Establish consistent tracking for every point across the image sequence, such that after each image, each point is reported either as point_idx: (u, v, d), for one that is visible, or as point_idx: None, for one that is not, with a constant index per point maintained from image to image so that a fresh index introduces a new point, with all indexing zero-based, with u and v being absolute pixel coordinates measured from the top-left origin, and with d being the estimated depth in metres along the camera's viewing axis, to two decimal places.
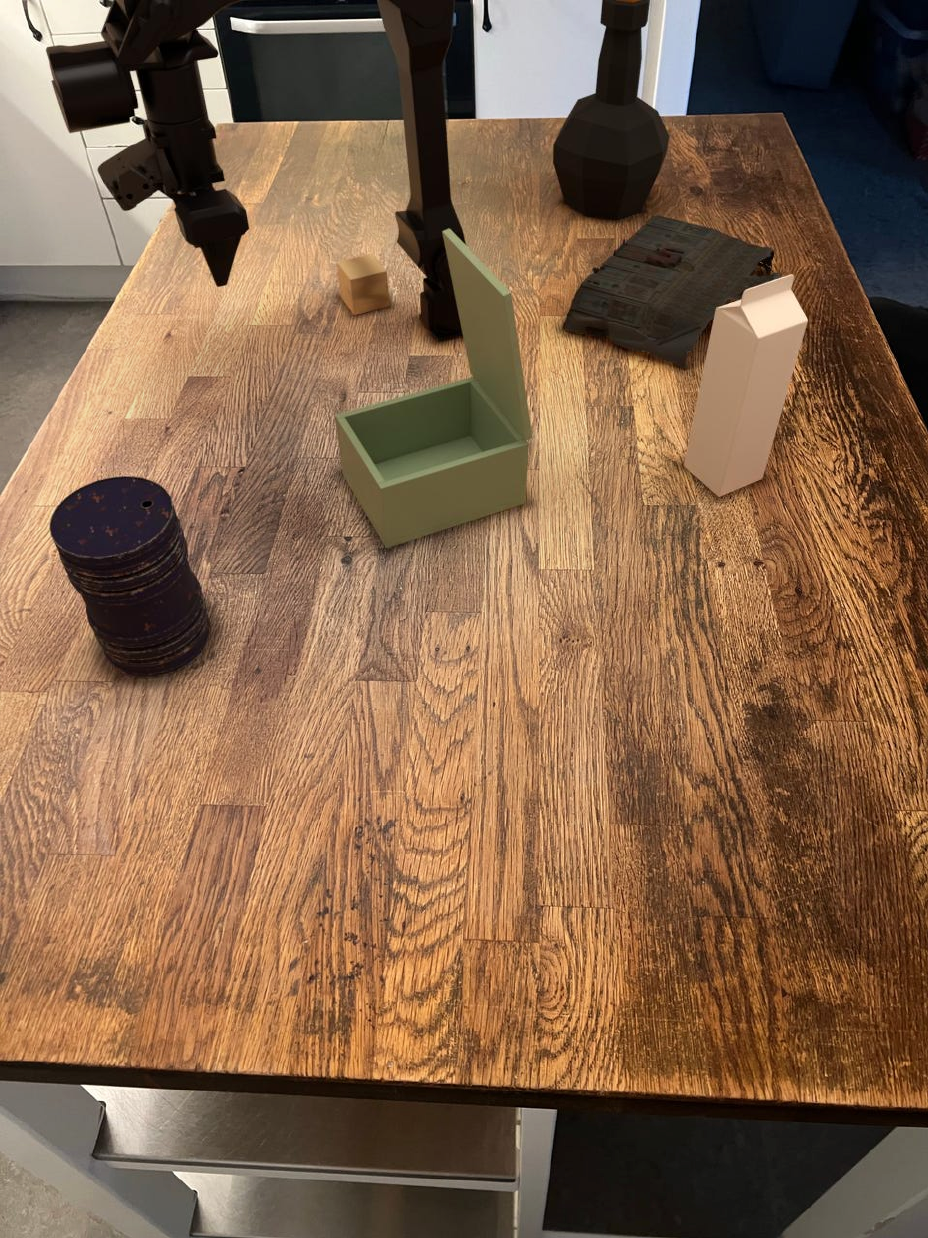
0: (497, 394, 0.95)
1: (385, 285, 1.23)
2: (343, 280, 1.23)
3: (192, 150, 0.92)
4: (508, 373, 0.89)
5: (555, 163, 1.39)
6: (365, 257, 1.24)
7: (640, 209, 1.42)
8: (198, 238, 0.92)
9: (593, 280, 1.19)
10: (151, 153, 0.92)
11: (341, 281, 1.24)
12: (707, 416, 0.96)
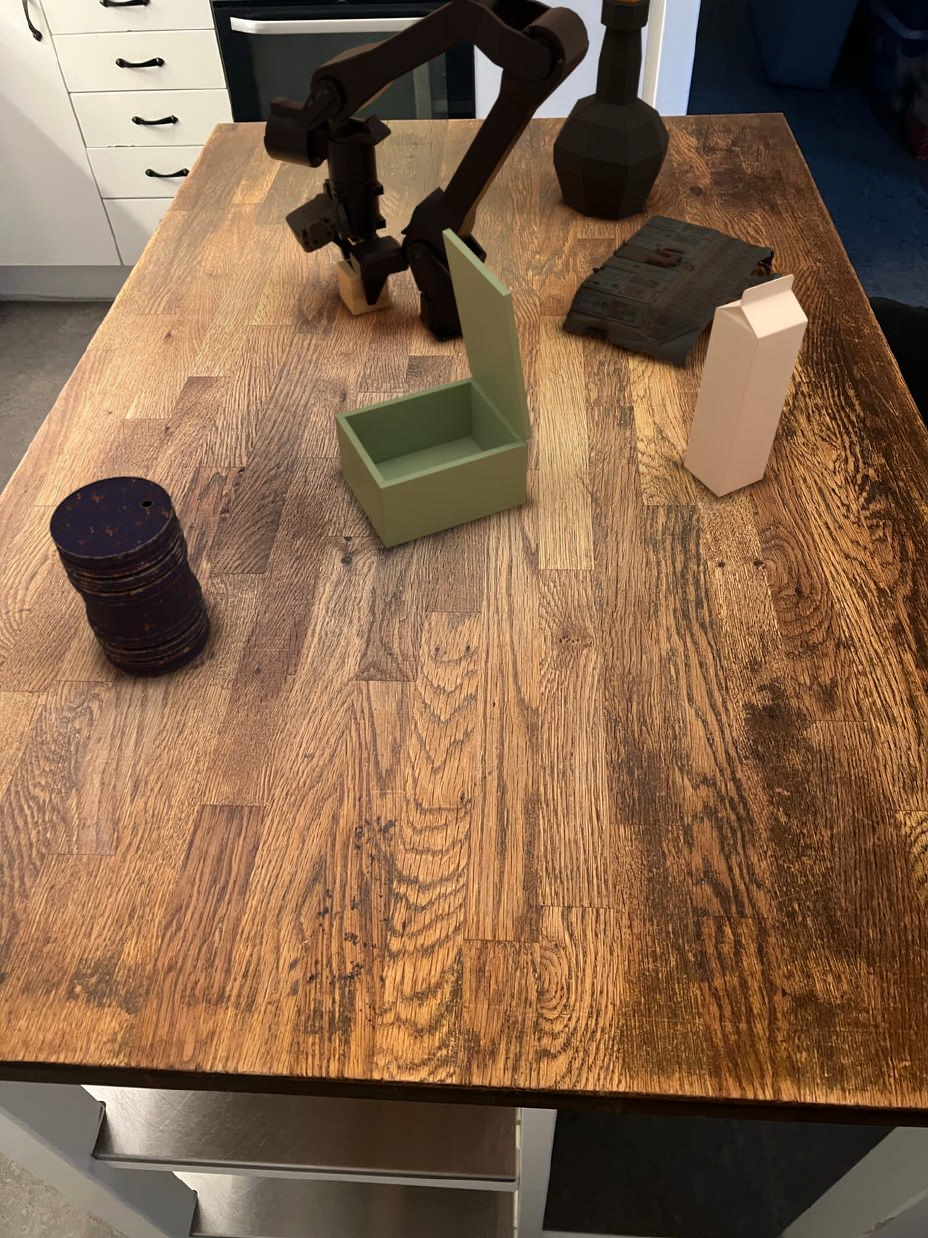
0: (497, 394, 0.95)
1: (385, 285, 1.23)
2: (343, 280, 1.23)
3: (365, 204, 1.14)
4: (508, 373, 0.89)
5: (555, 163, 1.39)
6: None
7: (640, 209, 1.42)
8: (370, 275, 1.13)
9: (593, 280, 1.19)
10: (332, 207, 1.14)
11: (341, 281, 1.24)
12: (707, 416, 0.96)
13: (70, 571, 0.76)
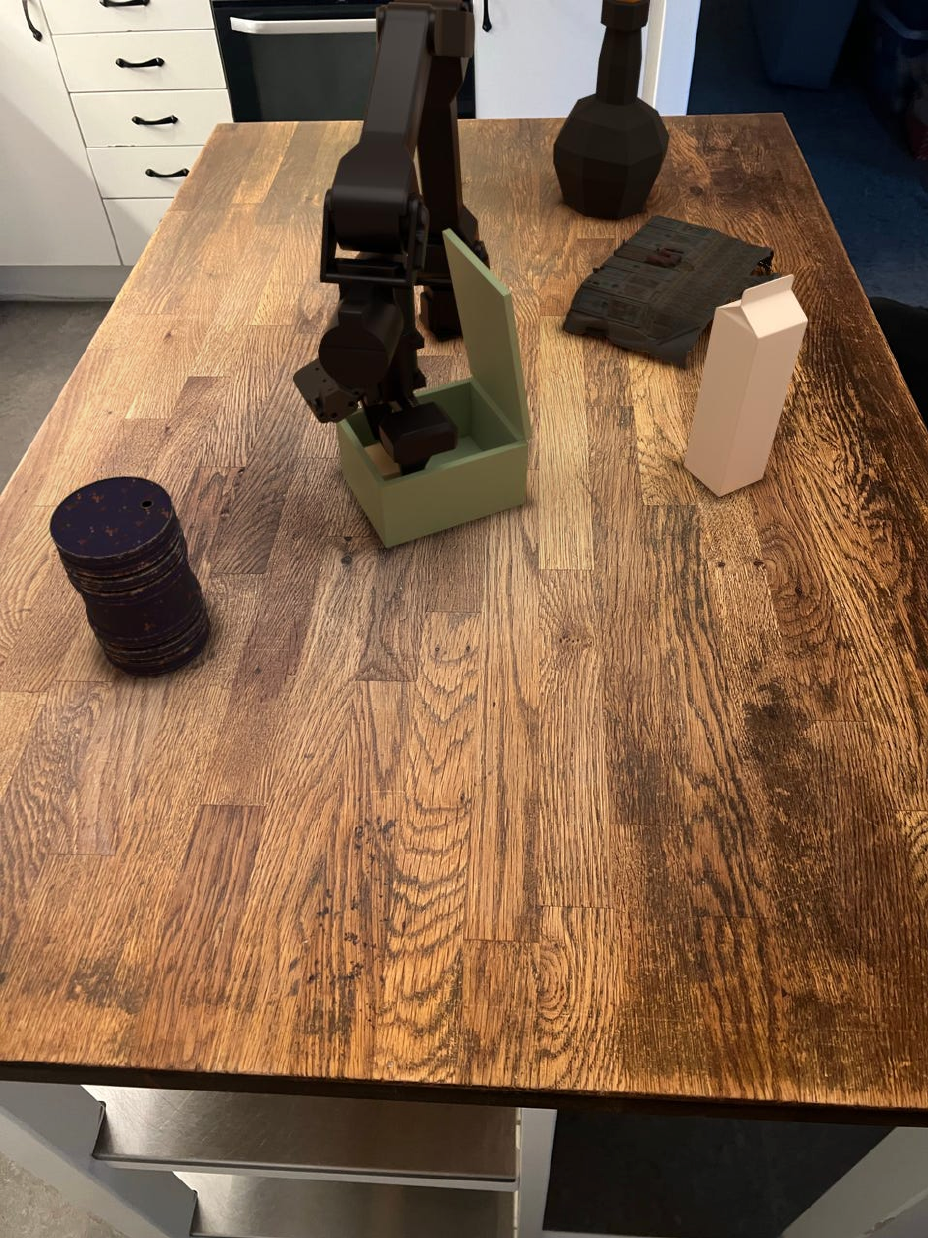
0: (497, 394, 0.95)
1: None
2: None
3: (399, 362, 0.85)
4: (508, 373, 0.89)
5: (555, 163, 1.39)
6: None
7: (640, 209, 1.42)
8: (407, 459, 0.84)
9: (593, 280, 1.19)
10: None
11: None
12: (707, 416, 0.96)
13: (70, 571, 0.76)
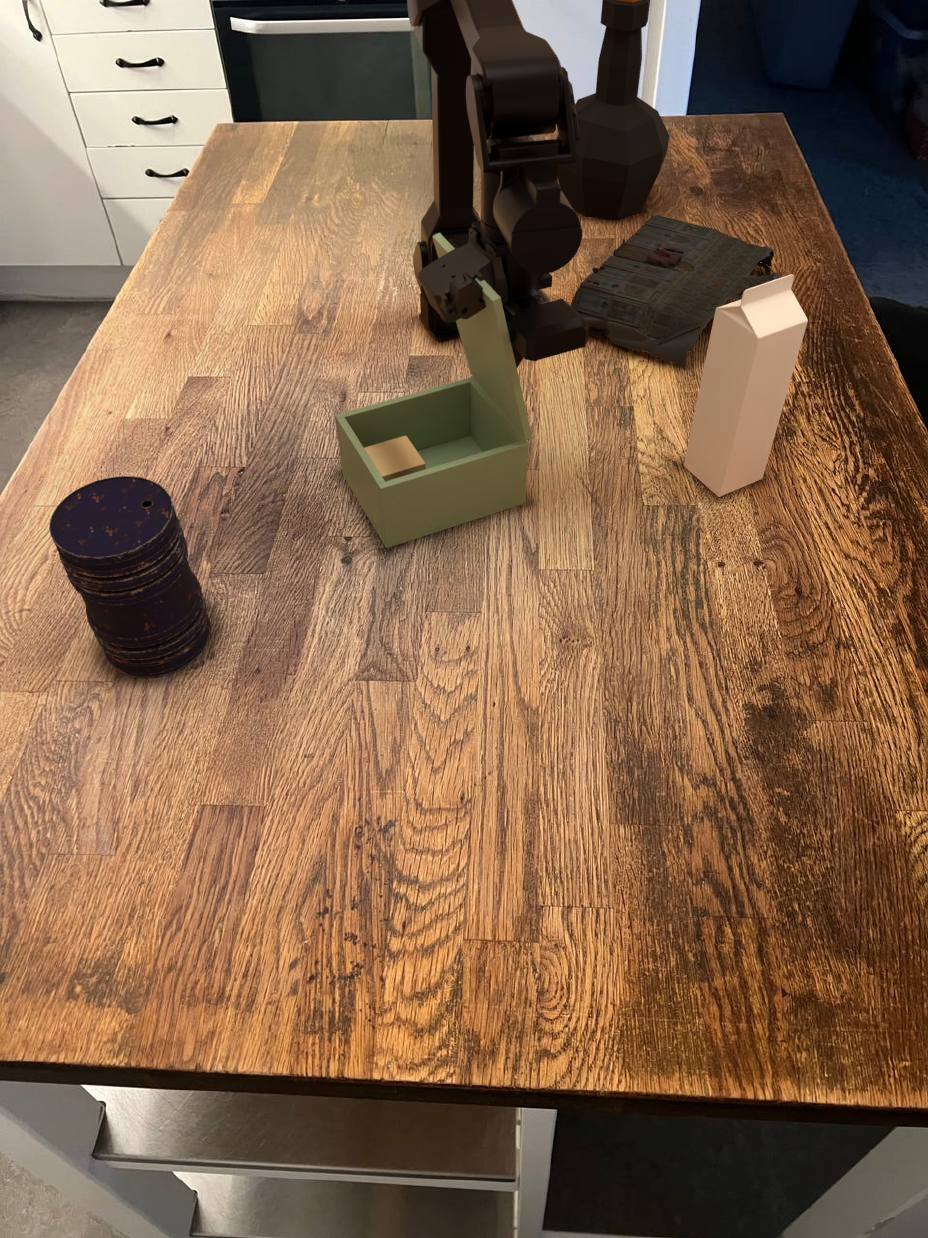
0: (496, 395, 0.95)
1: None
2: None
3: None
4: (503, 376, 0.89)
5: None
6: (397, 442, 0.97)
7: (640, 209, 1.42)
8: (539, 355, 0.83)
9: (593, 280, 1.19)
10: (485, 261, 0.83)
11: None
12: (707, 416, 0.96)
13: (70, 571, 0.76)
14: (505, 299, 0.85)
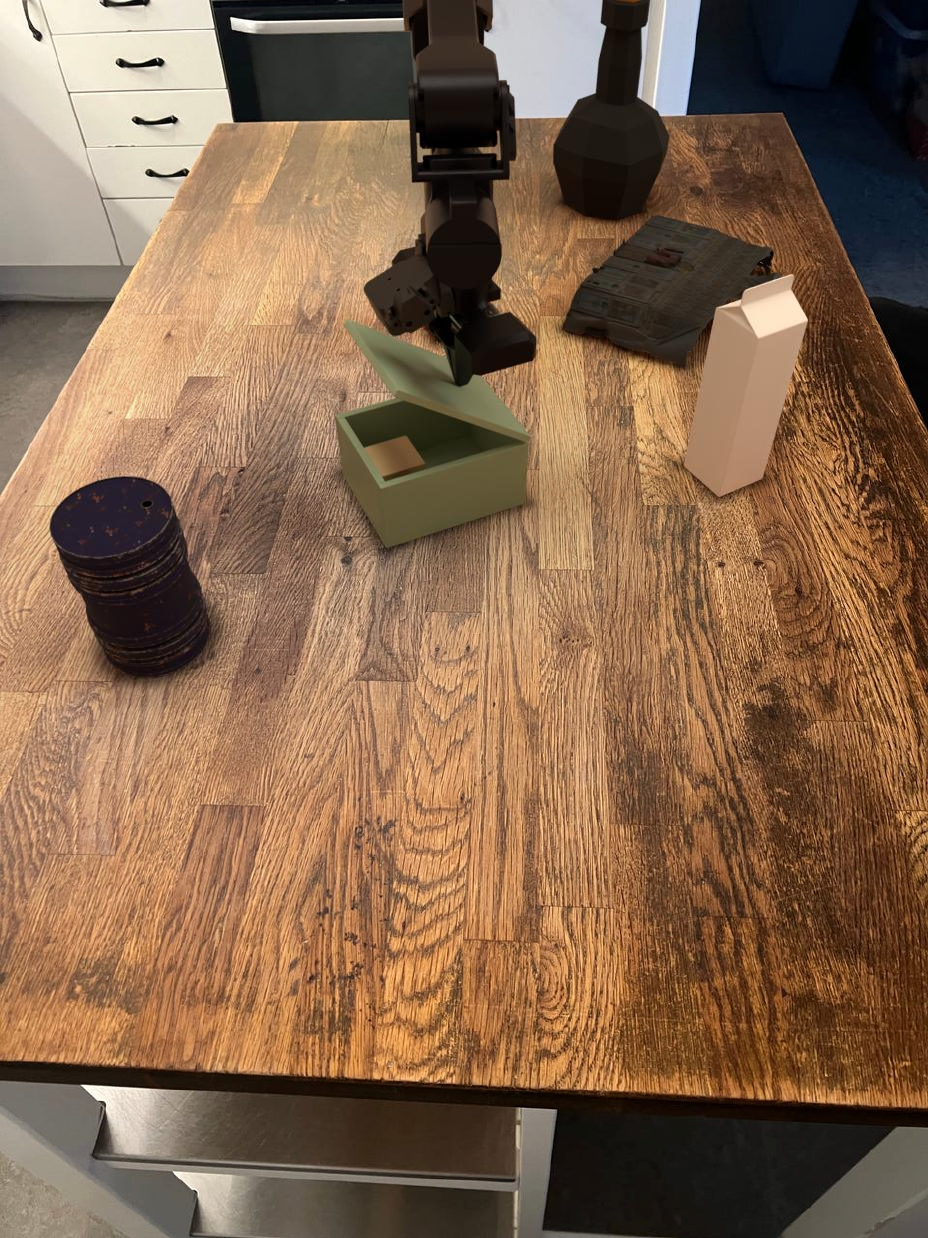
0: None
1: None
2: None
3: None
4: None
5: (555, 163, 1.39)
6: (397, 442, 0.97)
7: (640, 209, 1.42)
8: (485, 370, 0.81)
9: (593, 280, 1.19)
10: (431, 274, 0.81)
11: None
12: (707, 416, 0.96)
13: (70, 571, 0.76)
14: (452, 312, 0.84)
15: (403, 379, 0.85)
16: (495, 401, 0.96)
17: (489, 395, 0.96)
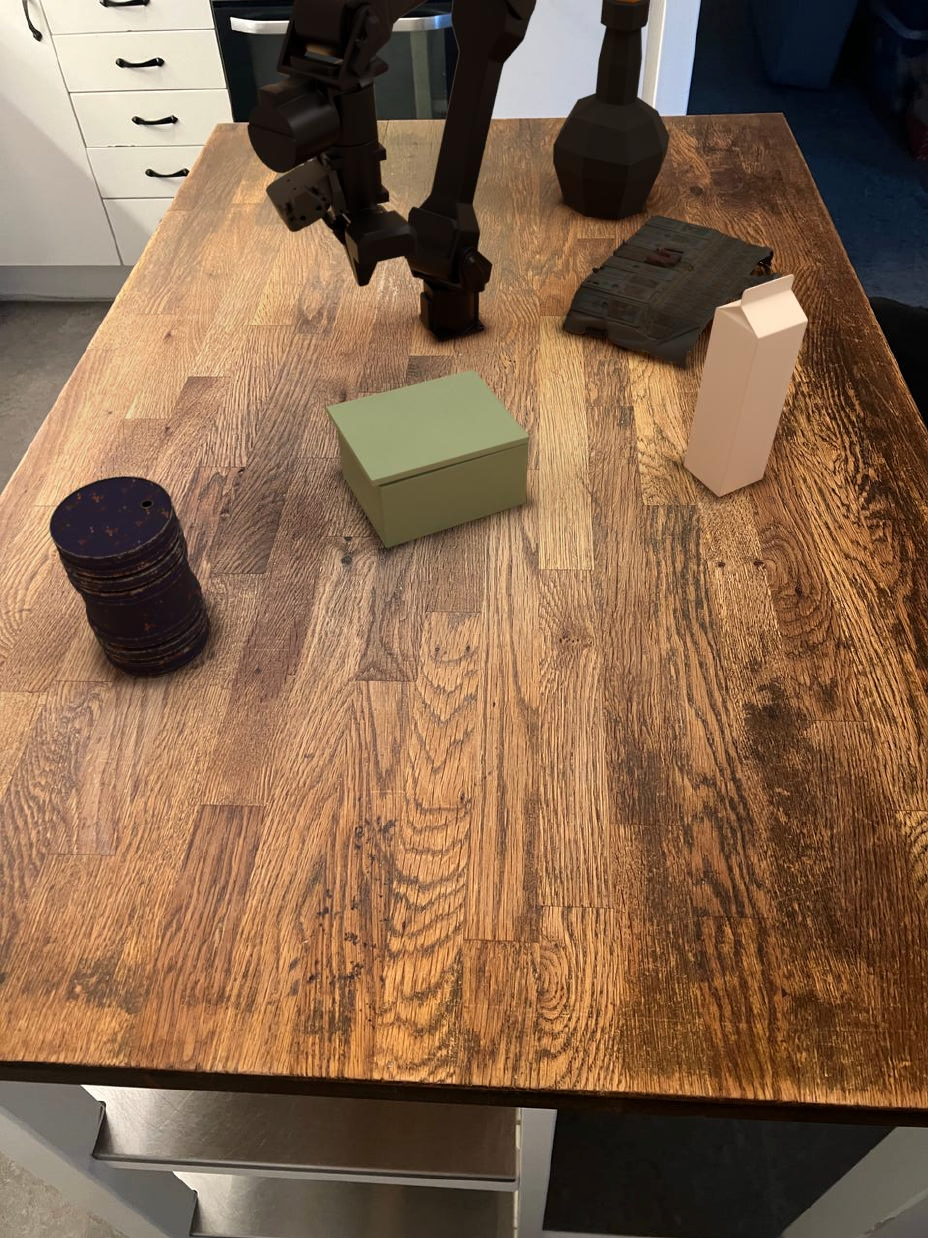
0: None
1: None
2: None
3: (363, 172, 0.92)
4: None
5: (555, 163, 1.39)
6: None
7: (640, 209, 1.42)
8: (370, 259, 0.92)
9: (593, 280, 1.19)
10: (323, 175, 0.92)
11: None
12: (707, 416, 0.96)
13: (70, 571, 0.76)
14: (344, 211, 0.94)
15: (380, 458, 0.91)
16: (490, 408, 0.96)
17: (485, 403, 0.97)
